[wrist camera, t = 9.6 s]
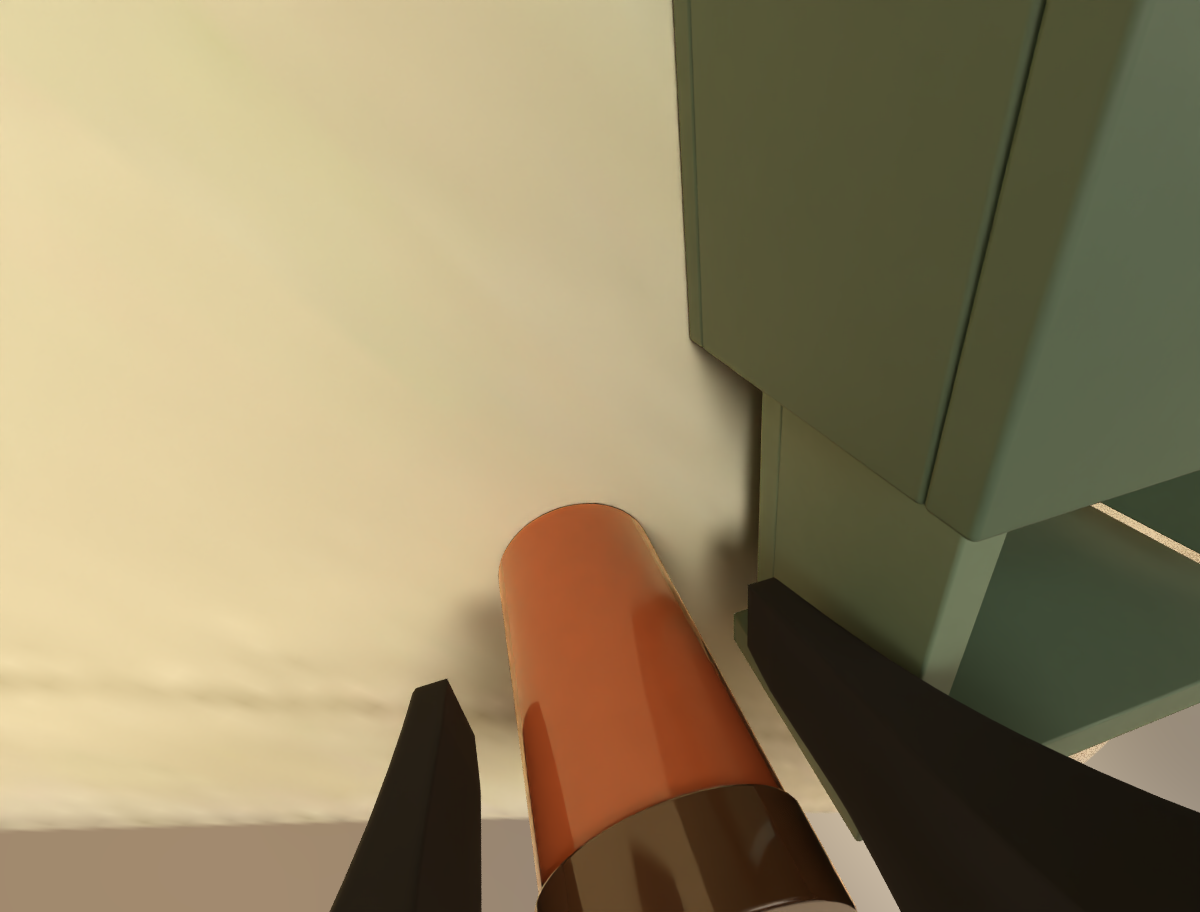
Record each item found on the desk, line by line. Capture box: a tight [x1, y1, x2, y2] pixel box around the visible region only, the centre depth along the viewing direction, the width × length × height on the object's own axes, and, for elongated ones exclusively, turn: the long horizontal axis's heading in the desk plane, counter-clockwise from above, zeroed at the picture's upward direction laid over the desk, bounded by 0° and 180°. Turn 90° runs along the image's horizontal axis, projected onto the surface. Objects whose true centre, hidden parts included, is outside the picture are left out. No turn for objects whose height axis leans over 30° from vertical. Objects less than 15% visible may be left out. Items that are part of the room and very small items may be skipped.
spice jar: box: [498, 504, 857, 912], centre depth 10 cm, size 4×4×8 cm
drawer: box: [734, 392, 1200, 841], centre depth 13 cm, size 15×13×6 cm
